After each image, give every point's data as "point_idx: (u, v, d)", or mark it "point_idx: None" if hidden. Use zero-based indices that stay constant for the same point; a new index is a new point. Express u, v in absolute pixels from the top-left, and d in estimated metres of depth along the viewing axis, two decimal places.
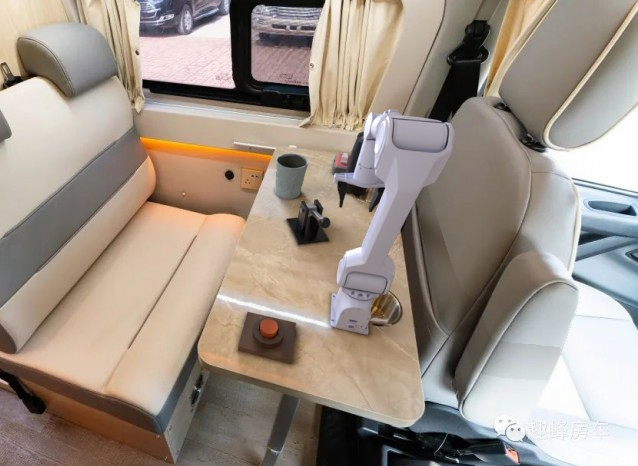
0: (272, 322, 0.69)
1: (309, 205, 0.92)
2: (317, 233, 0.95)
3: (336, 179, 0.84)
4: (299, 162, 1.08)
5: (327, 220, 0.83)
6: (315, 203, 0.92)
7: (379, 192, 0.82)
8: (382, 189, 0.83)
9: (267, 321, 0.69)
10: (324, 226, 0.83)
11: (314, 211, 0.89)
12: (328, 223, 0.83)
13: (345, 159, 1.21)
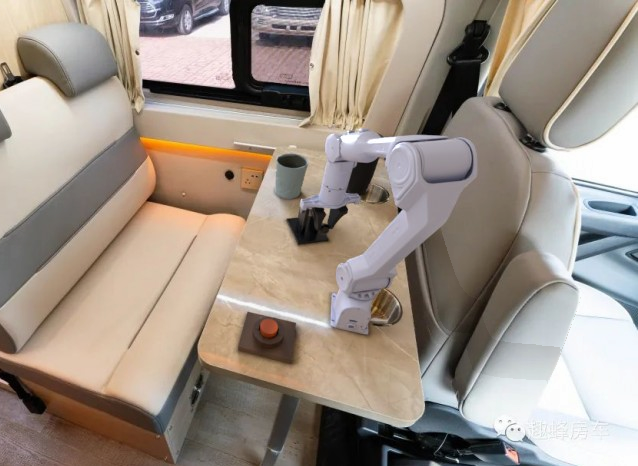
0: (272, 322, 0.69)
1: None
2: (317, 233, 0.95)
3: (305, 206, 0.78)
4: (299, 162, 1.08)
5: (326, 227, 0.84)
6: None
7: (340, 209, 0.79)
8: None
9: (267, 321, 0.69)
10: (323, 233, 0.84)
11: None
12: (327, 230, 0.84)
13: None
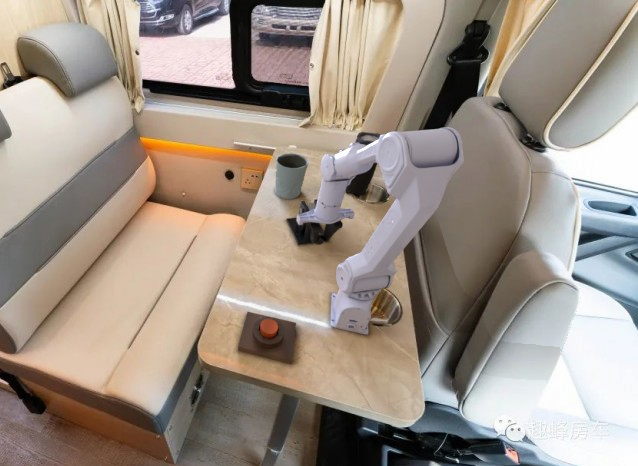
0: (272, 322, 0.69)
1: (310, 207, 0.91)
2: None
3: (301, 221, 0.81)
4: (299, 162, 1.08)
5: (322, 241, 0.87)
6: (315, 203, 0.92)
7: (335, 224, 0.83)
8: None
9: (267, 321, 0.69)
10: (317, 244, 0.89)
11: None
12: (322, 243, 0.88)
13: None
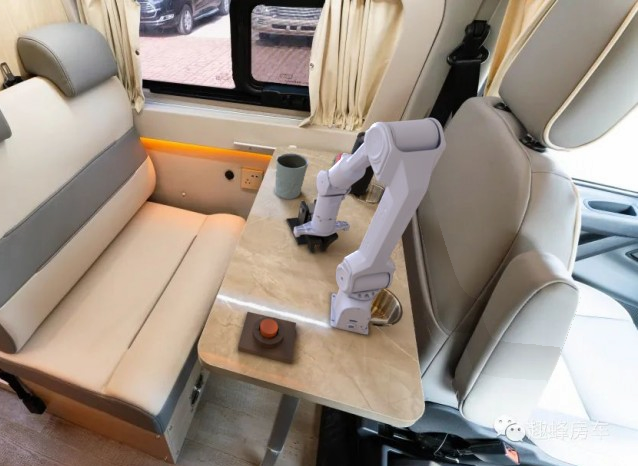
0: (272, 322, 0.69)
1: (310, 207, 0.91)
2: None
3: (298, 233, 0.85)
4: (299, 162, 1.08)
5: (321, 242, 0.88)
6: (315, 203, 0.92)
7: (330, 236, 0.86)
8: None
9: (267, 321, 0.69)
10: None
11: None
12: (321, 244, 0.89)
13: None
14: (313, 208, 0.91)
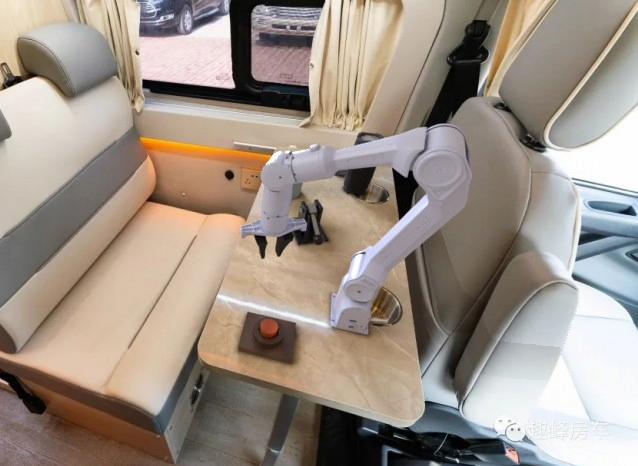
0: (272, 322, 0.69)
1: (310, 207, 0.91)
2: None
3: (243, 234, 0.70)
4: None
5: (321, 241, 0.88)
6: (315, 203, 0.92)
7: (284, 237, 0.71)
8: None
9: (267, 321, 0.69)
10: None
11: (313, 217, 0.91)
12: (321, 243, 0.88)
13: None
14: (313, 208, 0.91)
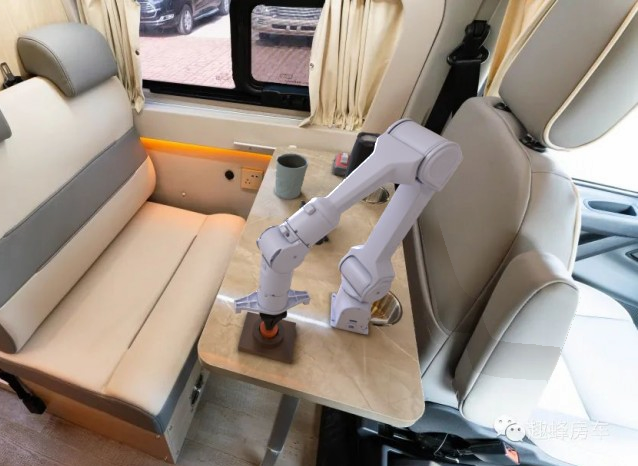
0: None
1: None
2: None
3: (238, 309, 0.61)
4: (299, 162, 1.08)
5: (321, 241, 0.88)
6: None
7: (276, 314, 0.62)
8: None
9: None
10: None
11: None
12: (321, 243, 0.88)
13: (345, 159, 1.21)
14: None
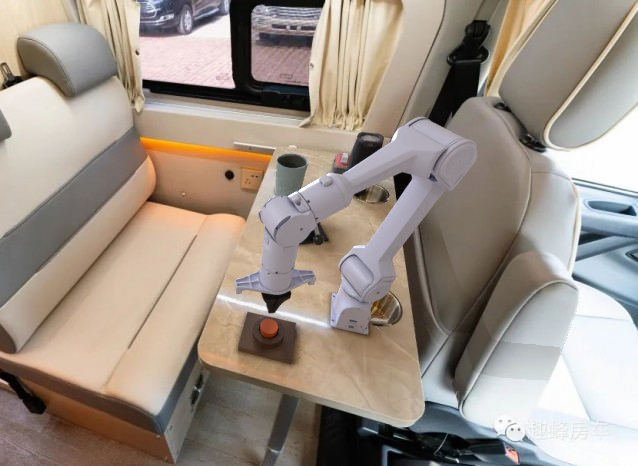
0: (272, 322, 0.69)
1: None
2: None
3: (239, 289, 0.57)
4: (299, 162, 1.08)
5: (321, 241, 0.88)
6: None
7: (280, 294, 0.58)
8: None
9: (267, 321, 0.69)
10: None
11: None
12: (321, 243, 0.88)
13: (345, 159, 1.21)
14: None
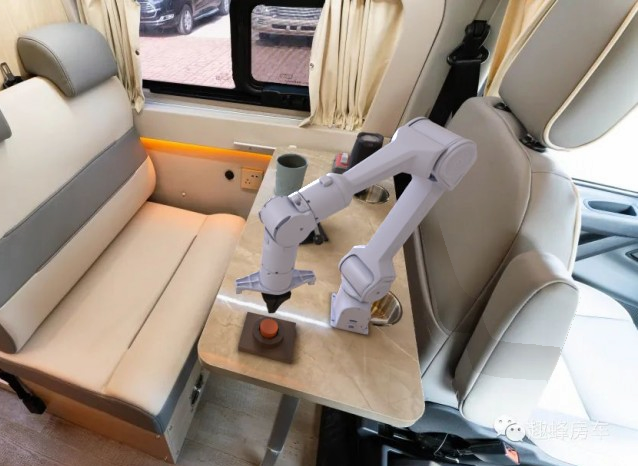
0: (272, 322, 0.69)
1: None
2: None
3: (239, 289, 0.57)
4: (299, 162, 1.08)
5: (321, 241, 0.88)
6: None
7: (280, 294, 0.58)
8: None
9: (267, 321, 0.69)
10: None
11: None
12: (321, 243, 0.88)
13: (345, 159, 1.21)
14: None
